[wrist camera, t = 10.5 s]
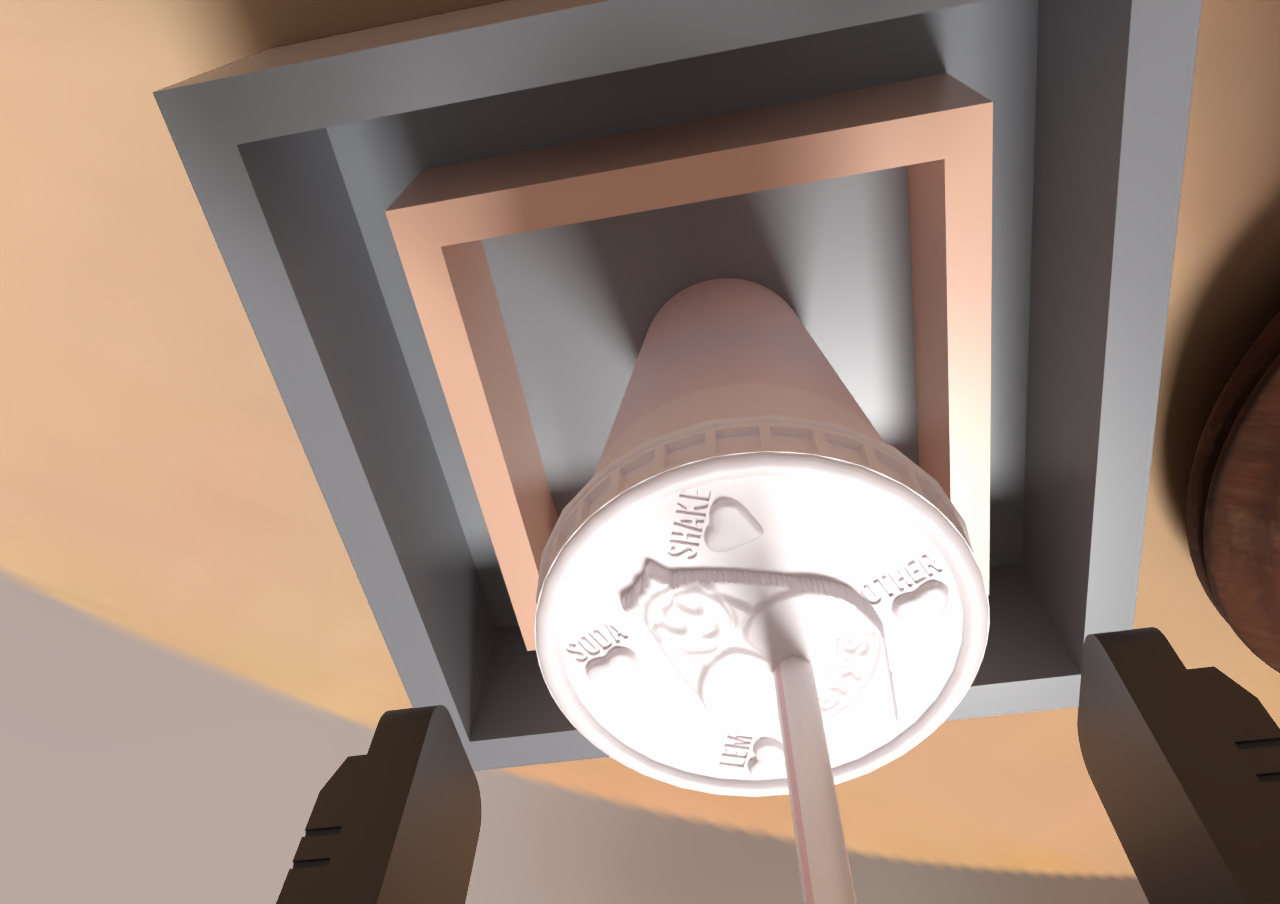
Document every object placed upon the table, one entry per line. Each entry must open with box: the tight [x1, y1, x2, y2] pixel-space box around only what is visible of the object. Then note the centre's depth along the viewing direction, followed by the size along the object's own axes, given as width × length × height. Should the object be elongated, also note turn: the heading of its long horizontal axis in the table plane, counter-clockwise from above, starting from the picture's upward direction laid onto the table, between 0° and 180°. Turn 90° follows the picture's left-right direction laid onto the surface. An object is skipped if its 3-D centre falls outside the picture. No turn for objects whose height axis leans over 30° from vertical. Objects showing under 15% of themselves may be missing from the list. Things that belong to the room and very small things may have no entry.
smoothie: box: [534, 278, 990, 904], centre depth 15 cm, size 6×6×14 cm
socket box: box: [153, 0, 1202, 771], centre depth 20 cm, size 16×16×5 cm
